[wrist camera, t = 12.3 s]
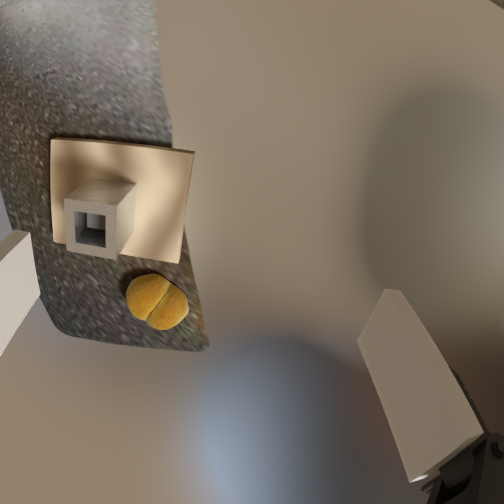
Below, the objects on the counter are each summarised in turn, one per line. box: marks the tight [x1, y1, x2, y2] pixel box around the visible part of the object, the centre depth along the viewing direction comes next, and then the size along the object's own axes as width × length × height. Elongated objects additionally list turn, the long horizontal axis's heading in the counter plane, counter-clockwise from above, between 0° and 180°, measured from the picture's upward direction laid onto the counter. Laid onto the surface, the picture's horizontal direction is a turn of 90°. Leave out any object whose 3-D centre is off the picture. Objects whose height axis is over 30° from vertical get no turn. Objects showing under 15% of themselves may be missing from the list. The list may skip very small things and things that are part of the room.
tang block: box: [50, 137, 195, 263], centre depth 33 cm, size 18×14×6 cm
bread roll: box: [126, 274, 189, 330], centre depth 42 cm, size 8×9×4 cm
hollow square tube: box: [64, 178, 137, 260], centre depth 31 cm, size 6×6×7 cm
